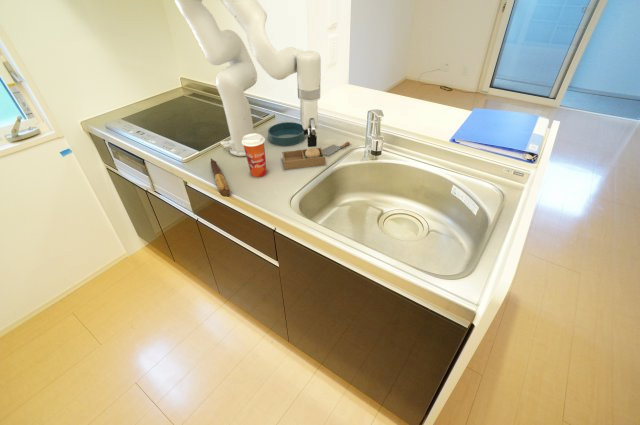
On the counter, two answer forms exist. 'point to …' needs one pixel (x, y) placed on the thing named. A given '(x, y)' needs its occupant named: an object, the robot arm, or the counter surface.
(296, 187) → the counter surface
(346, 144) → the cleaver
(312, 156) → the egg
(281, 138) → the bowl
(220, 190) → the hand tool
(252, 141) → the paper cup
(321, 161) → the divided brown tray
